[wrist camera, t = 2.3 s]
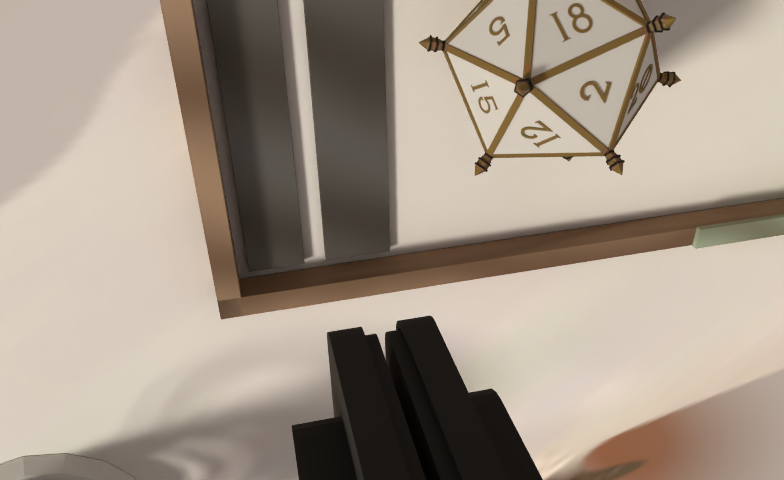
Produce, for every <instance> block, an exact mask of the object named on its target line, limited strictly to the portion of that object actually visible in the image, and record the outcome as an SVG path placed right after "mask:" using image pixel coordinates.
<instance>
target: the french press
mask: <svg viewBox="0 0 784 480" xmlns="http://www.w3.org/2000/svg"><path fill="white" fill-rule="evenodd" d="M0 480H136V479H135V478H134V477H133V476H131V475H129V474H127V473H125V472H124V471H122V470H120V469H118V468H116V467H115V466H113V465H111V464H109V463H107V462H106V461H102V460H97V459H92V458H86V457H81V456H76V455H71V454H66V453H65V454H50V455H36V456H23V457H20V458H17V459H14V460H11V461H8V462H5V463H2V464H0Z"/></svg>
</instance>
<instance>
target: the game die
mask: <svg viewBox="0 0 784 480" xmlns="http://www.w3.org/2000/svg"><path fill="white" fill-rule="evenodd" d="M675 19H676V18H674V17H671V16H668V15H666V14H665V13H664V12H663V13H662V14H661V16H658V15H657V16H655V18H654V19H653V20H652V21H650V19H649V17H648V15H647V13H646V11H645V9H644V7H643V5H642V3H641V1H640V0H481V1H480V2H479V3H478V4H477V5H476V7H475V8H474V9H473V10H472V11H471V12H470V13H469V14H468V15H467V17H466V18H465V19H464V20H463V21H462V22H461V23H460V24H459V26H458V27H457V28H456V29H455V30H454V31H453V32H452V33H451V34H450V36H449V37H448V38H447V39H446V40H445V41H442V40H440V39H438V37H436V38H433V37H432V36H431V35H430V37H429V38H427V39H425V40H423V41H421V42H419V43H420V44H421V45H422V46H423V47H424V48H426V49H427V51H428V52H429V51H430V50H431V51H434V52H437V51H438V50H441V51H443V52H444V55H445V57H446V59H447V62H448V64H449V67H450V69H451V71H452V74H453V76H454V79H455V81H456V83H457V86H458V88H459V91H460V93H461V95H462V98H463V100H464V103H465V105H466V107H467V110H468V112H469V115H470V117H471V119H472V122H473V124H474V127H475V129H476V131H477V134H478V136H479V139H480V141H481V143H482V146H483V148H484V151H485V154H484V155H483V156H482V157H481V158H480V157H479V158H478V159H479V160H478V161H477V163H476V162H475V164H476V165H475V176H476V175H478V174H480V173H483V172H485V171H486V172H487V171H488V170H487V169H488V167H489V166H491V165H490V163H491V160H492V159H493V158H514V157H563V158H564V159H566V160H568V161H570V160H571V158H572V157H574V156H605V157H606V159H607V161H606V163H607V165H609V166H610V167H609V169H610V170H611V171H612V170H613V171H615V172H617V173H619V174H621V175H622V172H623V163H624V162H625V161H624V160H621V158H620V155H617V154H616V153H615V152H614V148H615V147H616V145H617V144H618V142H619V141H620V139H621V137H622V136H623V134H624V133H625V131H626V130H627V128H628V127H629V125H630V124H631V122H632V120H633V119H634V117H635V116H636V114H637V113H638V111H639V110H640V108H641V107H642V105H643V104H644V102H645V100H646V99H647V97H648V96H649V94H650V93H651V91H652V90H653V88H654V87H655V85H656V84H657V82H660V83H662V85H663V86H665V85H668V86H669V87H671V85H673V84H675V83H677V82H679V81H681V80H680V78H679V77H678V76H677V75H676V74H675V72H663V73H660V69H659V63H658V56H657V50H656V44H655V37H654V31H655V32H663V30H670V26H671V25H672V24H673V22H674V21H675Z"/></svg>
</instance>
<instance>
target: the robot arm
mask: <svg viewBox="0 0 784 480" xmlns="http://www.w3.org/2000/svg"><path fill="white" fill-rule="evenodd" d="M327 341H328V353H329V364H330V374H331V385H332V396H333V407H334V418H330V419H324V420H319V421H314V422H308V423H303V424H297V425H292V432H293V439H294V447H295V454H296V461H297V468H298V476H299V480H543V479H542V477H541V475H540V474H539V472H538V470H537V468H536V466H535V464H534V462H533V460H532V458H531V456H530V454H529V452H528V451H527V449H526V447H525V445H524V443H523V441H522V439H521V437H520V435H519V433H518V431H517V429H516V428H515V426H514V424H513V422H512V420H511V418H510V416H509V414H508V412H507V410H506V408H505V406H504V404H503V403H502V401H501V399H500V397H499V396H498V394H497V393H496V392H495V391H494V390H493V389H487V390H482V391H476V392H471V393H468V391H467V389H466V386H465V384H464V382H463V380H462V378H461V376H460V374H459V372H458V369H457V367H456V365H455V363H454V361H453V359H452V357H451V354H450V352H449V350H448V348H447V346H446V344H445V342H444V340H443V337H442V335H441V333H440V331H439V329H438V327H437V325H436V322H435V320H434V319H433V317H432V316H425V317H419V318H413V319H406V320H400V321H397V324H396V330H395V331H389V332H386V334H385V349H386V360H385V357H384V354H383V351H382V348H381V345H380V342H379V339H378V337H377V335H376V334H371V335H365V334H364V331H363V329H362V327H357V328H351V329H344V330H338V331H332V332H328V333H327Z"/></svg>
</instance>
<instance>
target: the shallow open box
mask: <svg viewBox="0 0 784 480" xmlns="http://www.w3.org/2000/svg"><path fill="white" fill-rule="evenodd" d="M303 2H304V13H305V25H306V37H307V48H308V60H309V72H310V84H311V95H312V107H313V119H314V131H315V142H316V154H317V166H318V177H319V189H320V201H321V213H322V224H323V236H324V248H325V258H326V260H332V259H339V258H345V257H352V256H359V255H366V254H373V253H380V252H386V251H390V242H389V204H388V166H387V128H386V90H385V52H384V14H383V0H303ZM160 3H161V9H162V14H163V19H164V24H165V29H166V35H167V40H168V45H169V50H170V56H171V61H172V66H173V71H174V76H175V82H176V87H177V92H178V97H179V103H180V108H181V113H182V118H183V123H184V129H185V134H186V139H187V144H188V150H189V155H190V160H191V165H192V170H193V176H194V181H195V186H196V191H197V197H198V202H199V207H200V212H201V217H202V223H203V228H204V233H205V238H206V244H207V249H208V254H209V259H210V264H211V270H212V275H213V280H214V285H215V291H216V296H217V301H218V306H219V311H220V317H221V319H226V318H233V317H239V316H245V315H251V314H258V313H264V312H270V311H277V310H283V309H289V308H296V307H302V306H308V305H315V304H321V303H327V302H334V301H340V300H346V299H353V298H359V297H365V296H372V295H378V294H384V293H391V292H397V291H403V290H410V289H416V288H422V287H429V286H435V285H441V284H448V283H454V282H460V281H467V280H473V279H479V278H485V277H492V276H498V275H504V274H511V273H517V272H523V271H530V270H536V269H542V268H549V267H555V266H561V265H568V264H574V263H580V262H587V261H593V260H599V259H606V258H612V257H618V256H625V255H631V254H637V253H644V252H650V251H656V250H663V249H669V248H675V247H682V246H688V245H692V246H693V247H695V248H696V249H697V248H703V247H709V246H715V245H722V244H728V243H734V242H741V241H747V240H753V239H759V238H766V237H772V236H778V235H784V198H782V199H775V200H768V201H762V202H755V203H748V204H741V205H734V206H728V207H721V208H714V209H707V210H701V211H694V212H687V213H680V214H674V215H667V216H660V217H653V218H647V219H640V220H633V221H626V222H619V223H613V224H606V225H599V226H592V227H586V228H579V229H572V230H565V231H559V232H552V233H545V234H538V235H531V236H525V237H518V238H511V239H504V240H498V241H491V242H484V243H477V244H471V245H464V246H457V247H450V248H443V249H437V250H430V251H423V252H416V253H410V254H403V255H396V256H389V257H383V258H376V259H369V260H362V261H356V262H349V263H342V264H335V265H328V266H322V267H315V268H308V269H301V270H295V271H288V272H281V273H274V274H268V275H261V276H254V277H247V278H240V279H239V274H238V268H237V262H236V257H235V251H234V245H233V239H232V233H231V227H230V221H229V215H228V209H227V203H226V197H225V191H224V185H223V179H222V173H221V167H220V161H219V155H218V149H217V143H216V137H215V131H214V125H213V119H212V113H211V107H210V101H209V95H208V89H207V83H206V77H205V71H204V65H203V59H202V53H201V47H200V41H199V35H198V29H197V23H196V17H195V11H194V5H193V0H160ZM207 5H208V12H209V18H210V24H211V31H212V37H213V43H214V50H215V56H216V63H217V69H218V75H219V82H220V88H221V95H222V101H223V107H224V114H225V120H226V126H227V133H228V139H229V146H230V152H231V158H232V165H233V171H234V177H235V184H236V190H237V197H238V203H239V209H240V216H241V222H242V228H243V235H244V241H245V248H246V254H247V260H248V267H249V272H250V271H256V270H263V269H270V268H277V267H284V266H291V265H297V264H304V263H305V262H304V253H303V243H302V234H301V224H300V215H299V205H298V196H297V186H296V177H295V167H294V158H293V148H292V138H291V129H290V119H289V110H288V100H287V91H286V81H285V72H284V62H283V53H282V43H281V33H280V24H279V14H278V5H277V0H207Z"/></svg>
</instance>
